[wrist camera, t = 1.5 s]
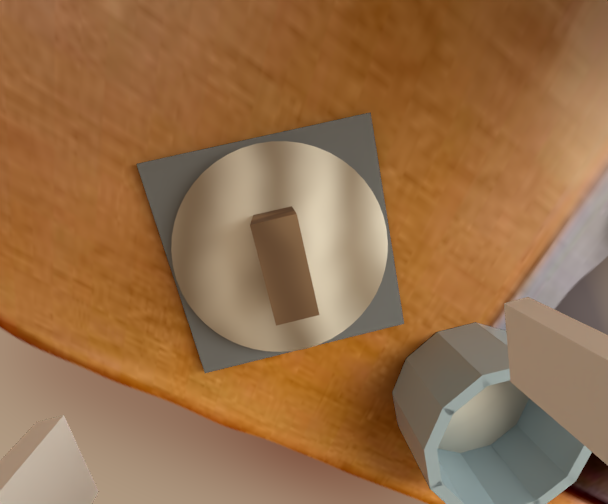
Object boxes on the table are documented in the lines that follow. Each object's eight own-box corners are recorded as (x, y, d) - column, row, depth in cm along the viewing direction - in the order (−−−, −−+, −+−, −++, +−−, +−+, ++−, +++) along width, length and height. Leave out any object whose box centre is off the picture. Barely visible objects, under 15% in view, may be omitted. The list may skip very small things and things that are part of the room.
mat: (368, 113, 27) (370, 112, 26) (401, 320, 31) (404, 323, 31) (139, 164, 26) (136, 164, 26) (206, 369, 31) (204, 373, 30)
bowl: (527, 309, 32) (596, 345, 26) (535, 431, 36) (597, 493, 29) (383, 345, 32) (414, 392, 25) (405, 466, 35) (437, 537, 28)
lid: (365, 120, 27) (392, 106, 21) (397, 319, 31) (427, 354, 25) (145, 169, 26) (109, 168, 20) (209, 366, 30) (194, 414, 24)
